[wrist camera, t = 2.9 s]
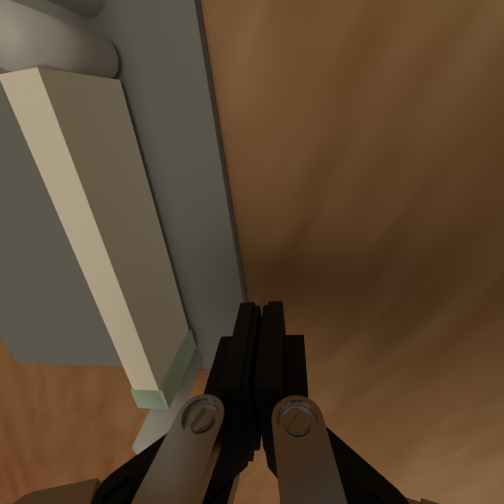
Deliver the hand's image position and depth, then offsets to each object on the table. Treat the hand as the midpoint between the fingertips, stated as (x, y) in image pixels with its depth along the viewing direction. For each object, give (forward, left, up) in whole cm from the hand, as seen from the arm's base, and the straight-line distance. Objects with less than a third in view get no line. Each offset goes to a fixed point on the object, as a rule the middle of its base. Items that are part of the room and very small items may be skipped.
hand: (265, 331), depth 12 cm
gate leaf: (+8, -3, -6) cm, 10 cm away
